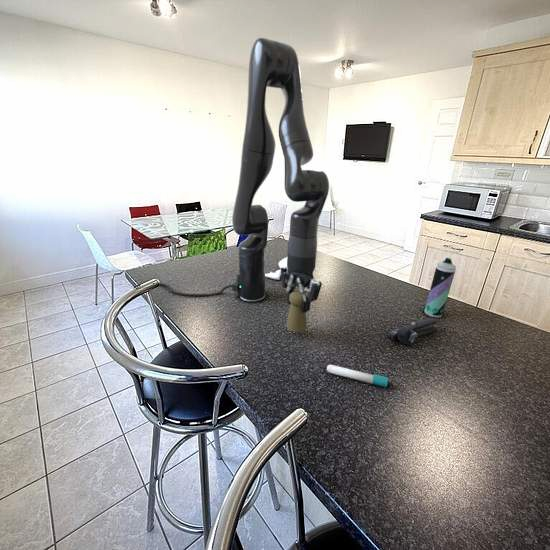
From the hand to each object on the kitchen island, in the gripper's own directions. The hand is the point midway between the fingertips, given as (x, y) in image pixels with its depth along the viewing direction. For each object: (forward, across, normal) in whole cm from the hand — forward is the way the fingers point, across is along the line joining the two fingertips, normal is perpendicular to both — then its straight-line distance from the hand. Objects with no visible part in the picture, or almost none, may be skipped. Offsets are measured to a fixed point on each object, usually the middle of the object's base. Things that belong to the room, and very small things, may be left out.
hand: (297, 306), depth 83 cm
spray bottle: (+10, -38, +30) cm, 49 cm away
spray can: (+9, +20, +45) cm, 51 cm away
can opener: (+9, +23, +27) cm, 37 cm away
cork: (+7, 0, 0) cm, 7 cm away
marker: (+9, +22, -1) cm, 24 cm away
